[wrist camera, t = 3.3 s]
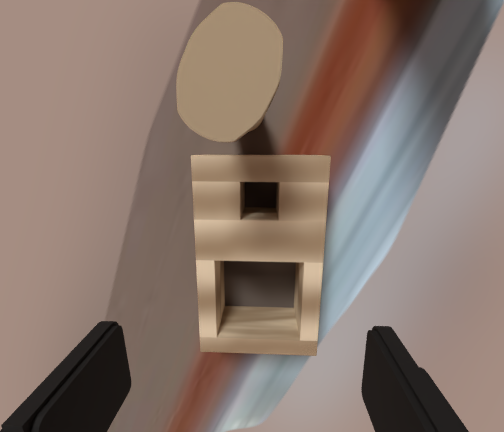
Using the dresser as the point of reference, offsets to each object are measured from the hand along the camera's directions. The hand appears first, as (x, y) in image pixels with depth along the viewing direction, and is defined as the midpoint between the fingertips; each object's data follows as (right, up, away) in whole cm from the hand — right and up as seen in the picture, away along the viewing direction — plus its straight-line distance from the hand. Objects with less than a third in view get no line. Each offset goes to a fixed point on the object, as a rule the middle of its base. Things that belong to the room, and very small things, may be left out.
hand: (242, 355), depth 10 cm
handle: (0, +16, +18) cm, 24 cm away
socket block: (+1, +2, +21) cm, 21 cm away
